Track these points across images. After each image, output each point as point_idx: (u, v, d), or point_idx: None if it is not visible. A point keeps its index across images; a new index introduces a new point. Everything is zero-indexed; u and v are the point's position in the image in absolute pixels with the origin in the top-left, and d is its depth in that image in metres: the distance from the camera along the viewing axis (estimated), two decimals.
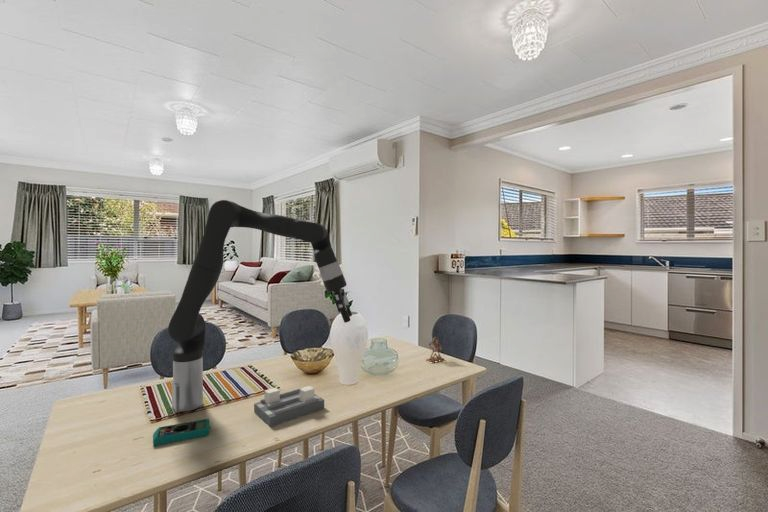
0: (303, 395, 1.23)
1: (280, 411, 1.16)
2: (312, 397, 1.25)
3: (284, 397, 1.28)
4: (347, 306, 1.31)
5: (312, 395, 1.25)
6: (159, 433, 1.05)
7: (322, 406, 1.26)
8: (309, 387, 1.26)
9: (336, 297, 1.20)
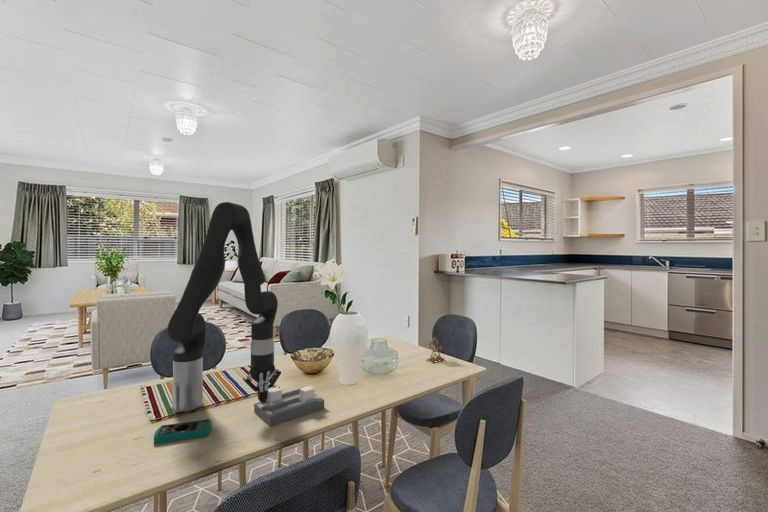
0: (303, 395, 1.23)
1: (280, 411, 1.16)
2: (312, 397, 1.25)
3: (284, 397, 1.28)
4: (263, 390, 1.21)
5: (312, 395, 1.25)
6: (160, 431, 1.06)
7: (322, 406, 1.26)
8: (309, 387, 1.26)
9: (245, 381, 1.17)
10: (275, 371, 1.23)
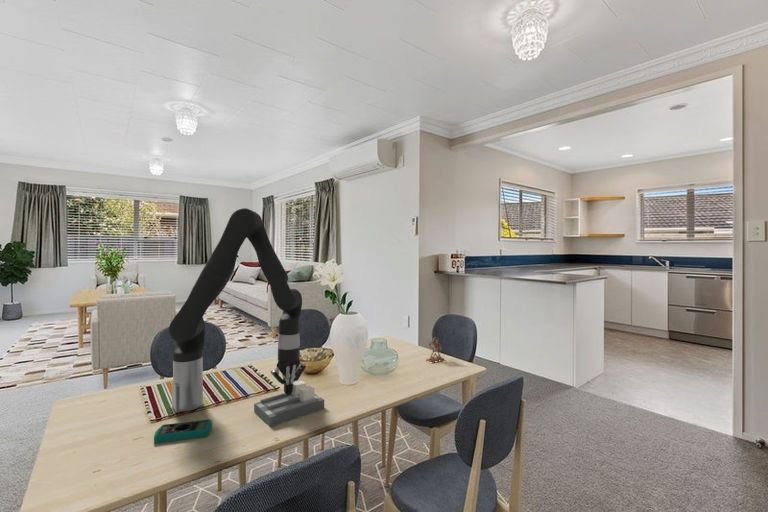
0: (303, 395, 1.23)
1: (280, 411, 1.16)
2: (312, 397, 1.25)
3: (284, 397, 1.28)
4: (289, 383, 1.27)
5: (312, 395, 1.25)
6: (161, 431, 1.06)
7: (322, 406, 1.26)
8: (309, 387, 1.26)
9: (272, 374, 1.24)
10: (300, 365, 1.30)
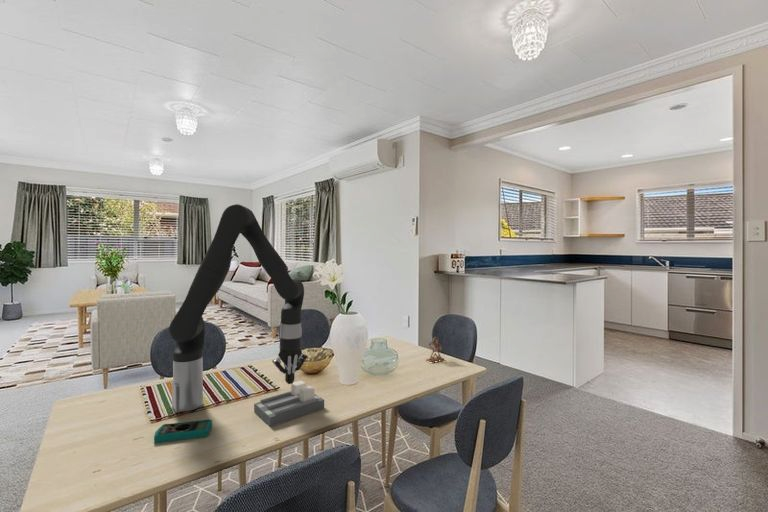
0: (303, 395, 1.23)
1: (280, 411, 1.16)
2: (312, 397, 1.25)
3: (284, 397, 1.28)
4: (291, 373, 1.27)
5: (312, 395, 1.25)
6: (161, 430, 1.06)
7: (322, 406, 1.26)
8: (309, 387, 1.26)
9: (274, 363, 1.24)
10: (302, 355, 1.30)
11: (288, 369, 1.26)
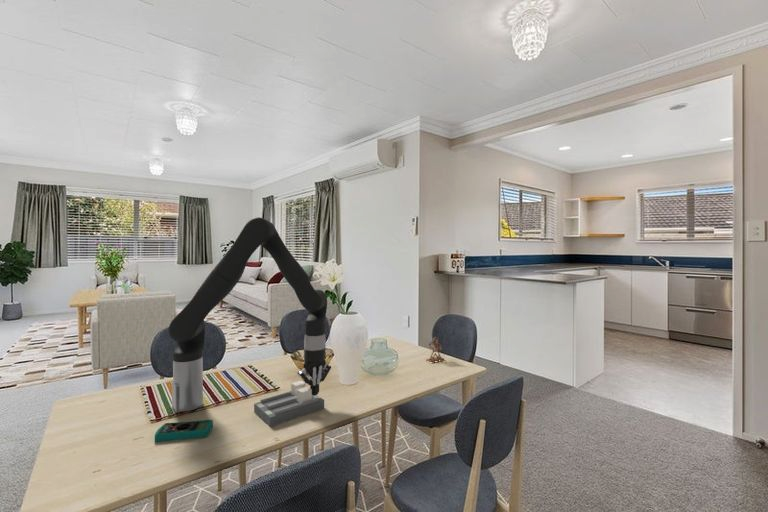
0: (300, 396, 1.23)
1: (280, 411, 1.16)
2: (309, 398, 1.24)
3: (284, 397, 1.28)
4: (316, 384, 1.27)
5: (309, 396, 1.24)
6: (162, 429, 1.07)
7: (322, 406, 1.26)
8: (306, 388, 1.26)
9: (299, 375, 1.24)
10: (326, 366, 1.30)
11: (313, 380, 1.26)
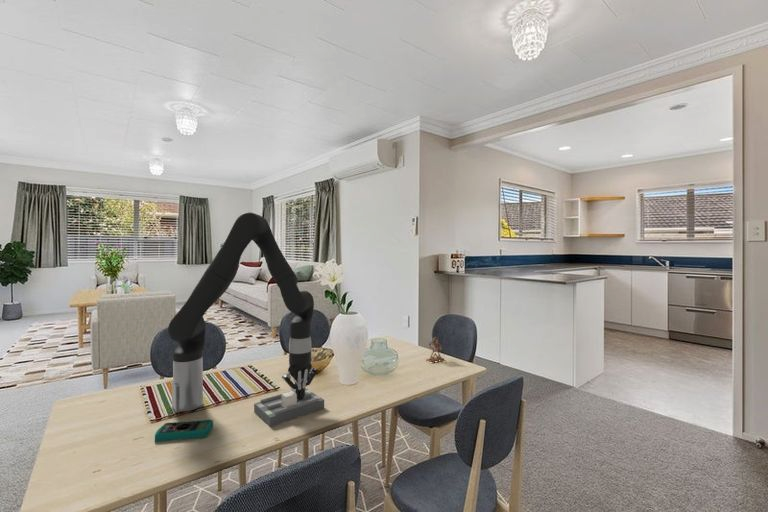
0: (284, 400, 1.19)
1: (280, 411, 1.16)
2: (294, 403, 1.21)
3: None
4: (301, 388, 1.23)
5: (294, 401, 1.21)
6: (162, 429, 1.07)
7: (322, 406, 1.26)
8: (291, 392, 1.22)
9: (284, 379, 1.20)
10: (312, 369, 1.26)
11: (298, 384, 1.22)
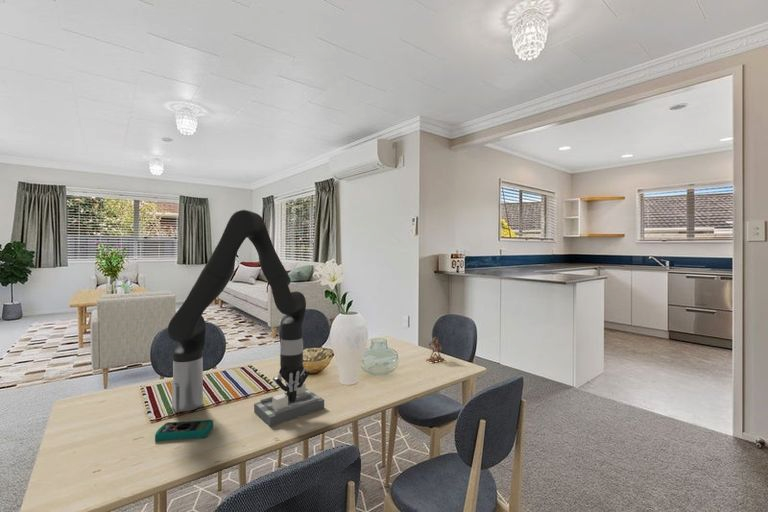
0: (275, 403, 1.17)
1: (280, 411, 1.16)
2: (285, 405, 1.18)
3: None
4: (293, 390, 1.21)
5: (285, 403, 1.18)
6: (163, 429, 1.07)
7: (322, 406, 1.26)
8: (283, 395, 1.20)
9: (275, 381, 1.18)
10: (303, 371, 1.24)
11: (290, 387, 1.20)
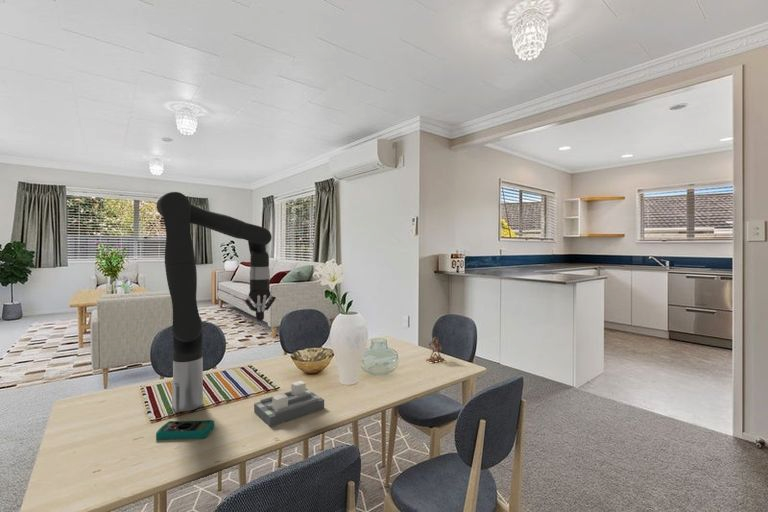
0: (275, 403, 1.17)
1: (280, 411, 1.16)
2: (285, 405, 1.18)
3: None
4: (260, 311, 1.43)
5: (285, 403, 1.18)
6: (164, 427, 1.08)
7: (322, 406, 1.26)
8: (282, 395, 1.20)
9: (245, 302, 1.39)
10: (270, 296, 1.46)
11: (258, 307, 1.41)
